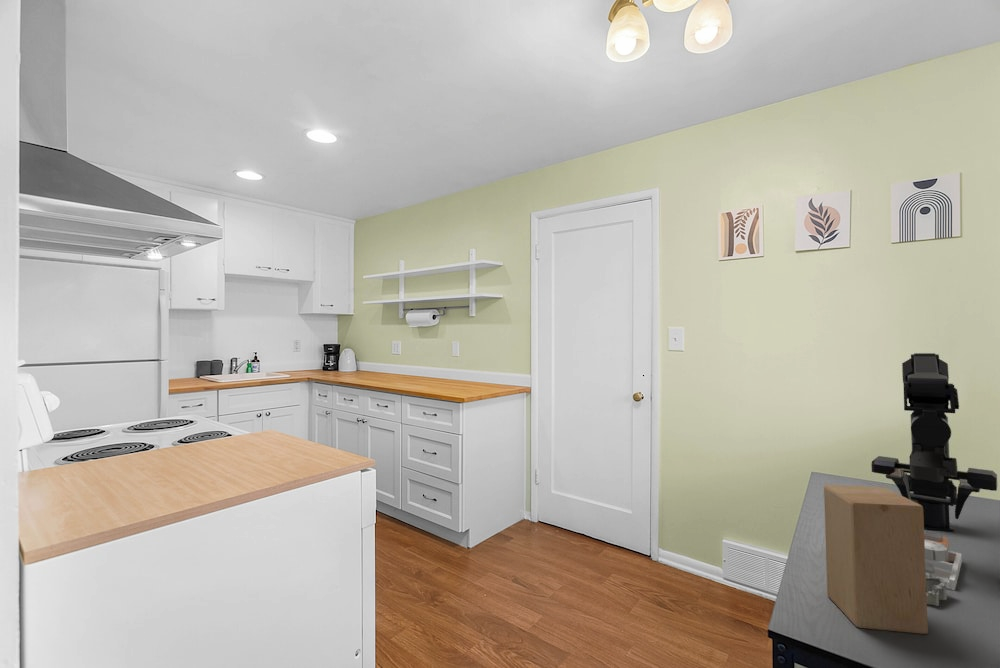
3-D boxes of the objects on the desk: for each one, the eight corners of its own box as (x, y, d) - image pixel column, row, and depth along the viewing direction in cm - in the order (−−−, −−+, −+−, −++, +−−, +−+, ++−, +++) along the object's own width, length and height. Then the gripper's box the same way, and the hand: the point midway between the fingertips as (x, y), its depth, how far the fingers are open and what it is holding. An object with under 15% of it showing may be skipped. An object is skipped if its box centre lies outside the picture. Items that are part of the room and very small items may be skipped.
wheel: (913, 547, 94) (912, 536, 94) (948, 555, 90) (948, 544, 90) (909, 554, 90) (908, 544, 91) (945, 564, 87) (945, 552, 87)
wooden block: (929, 635, 72) (924, 505, 73) (856, 628, 74) (852, 502, 75) (889, 601, 82) (885, 486, 82) (826, 595, 84) (822, 483, 84)
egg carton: (861, 583, 89) (860, 561, 89) (882, 574, 92) (881, 553, 92) (933, 610, 79) (932, 586, 79) (953, 599, 82) (952, 575, 83)
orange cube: (922, 556, 99) (921, 528, 99) (948, 562, 96) (947, 534, 96) (919, 563, 96) (918, 535, 96) (946, 570, 93) (945, 540, 93)
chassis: (913, 550, 101) (912, 540, 101) (961, 562, 96) (961, 551, 96) (901, 575, 90) (900, 564, 91) (954, 590, 85) (954, 578, 85)
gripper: (864, 437, 98) (867, 511, 98) (993, 451, 84) (997, 538, 84) (875, 430, 105) (878, 499, 105) (995, 442, 92) (999, 522, 91)
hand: (932, 513), depth 96 cm, fingers open, 7 cm apart
